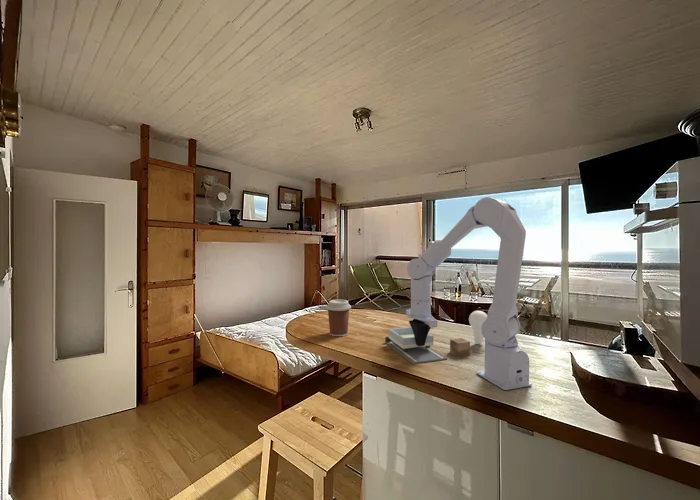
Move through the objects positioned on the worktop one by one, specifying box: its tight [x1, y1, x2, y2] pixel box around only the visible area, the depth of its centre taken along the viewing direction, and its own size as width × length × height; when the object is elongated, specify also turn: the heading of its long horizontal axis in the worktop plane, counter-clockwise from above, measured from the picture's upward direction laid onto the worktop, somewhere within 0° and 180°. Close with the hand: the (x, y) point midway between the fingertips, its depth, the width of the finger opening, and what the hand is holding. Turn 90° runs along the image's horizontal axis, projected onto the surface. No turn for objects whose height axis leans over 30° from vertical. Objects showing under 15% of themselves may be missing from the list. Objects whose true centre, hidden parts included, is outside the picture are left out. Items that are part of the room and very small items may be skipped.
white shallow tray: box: [388, 326, 434, 351], centre depth 95 cm, size 10×10×4 cm
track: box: [384, 336, 448, 365], centre depth 93 cm, size 18×11×2 cm, turn 17°
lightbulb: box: [468, 310, 488, 345], centre depth 98 cm, size 6×6×11 cm
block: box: [449, 337, 471, 357], centre depth 90 cm, size 4×4×4 cm
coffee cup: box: [325, 298, 352, 337], centre depth 109 cm, size 9×9×12 cm
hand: (420, 345), depth 89 cm, fingers closed
